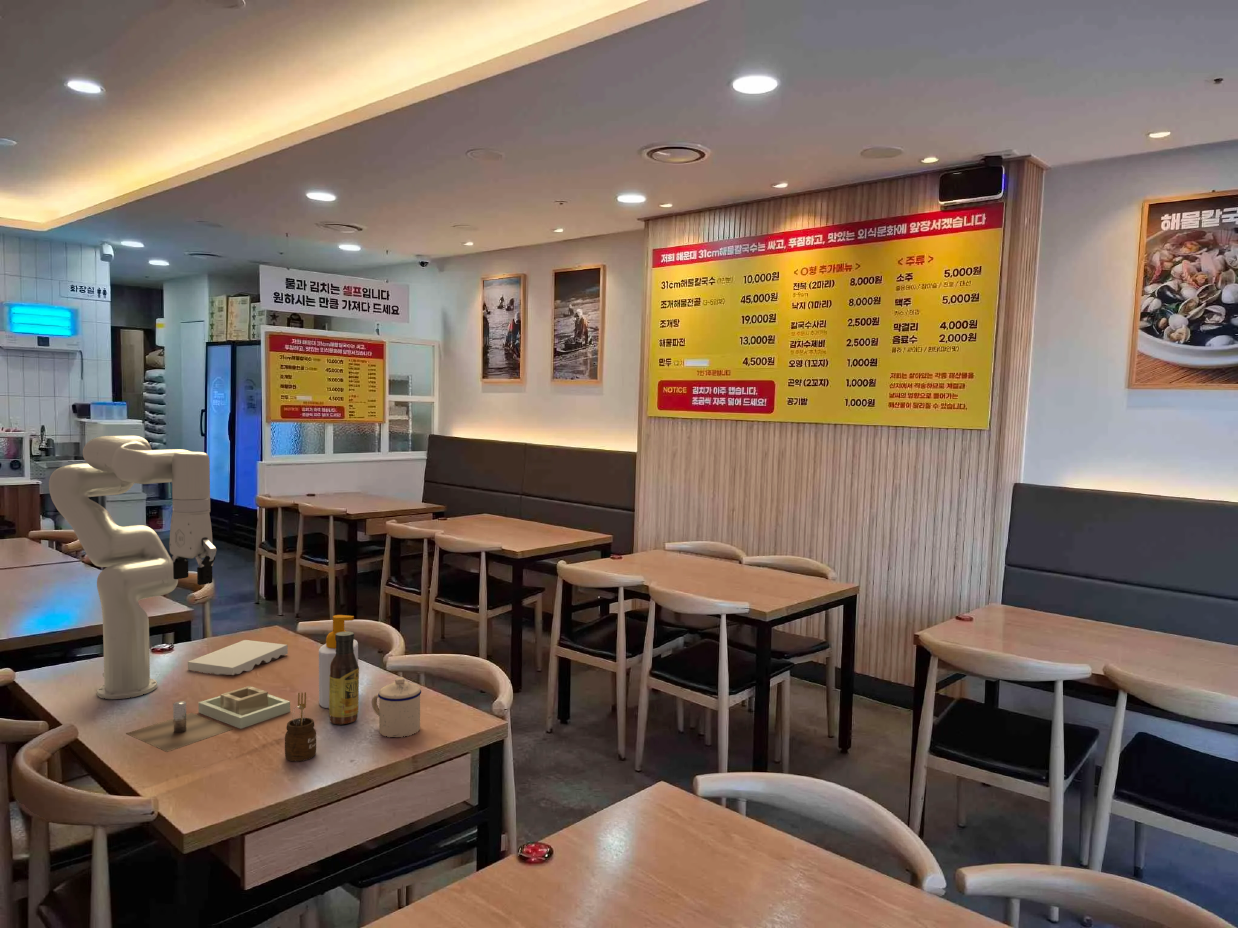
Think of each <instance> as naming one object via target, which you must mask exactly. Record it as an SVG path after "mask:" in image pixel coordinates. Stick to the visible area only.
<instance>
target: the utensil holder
mask: <svg viewBox="0 0 1238 928" xmlns="http://www.w3.org/2000/svg"><path fill="white" fill-rule="evenodd" d="M297 693H298V694H297V706H296V705H295V707H294V709H298V710H299V711H300V717H296V718H295V719H294V716H291V717H292V719H291V720H289V721H288V722H287V723H286V733H285V734H284V756H285V758H286V760H288V761H289V760H290V761H291V762H295V761H297V762H304V761H308V760H310V759H312V758H313V757H315V755H316V754H317V732H316V729H315V721H314V719H312V718H310V717H304V716H305V714H306V712H305V708H306V707H307V692H304V693H303V692H301V693H300V692H297ZM303 700H304V701H303ZM291 711H292V712H291V713H294V710H291ZM303 760H304V761H303Z"/></svg>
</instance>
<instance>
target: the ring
mask: <svg viewBox="0 0 1238 928" xmlns="http://www.w3.org/2000/svg"><path fill="white" fill-rule="evenodd" d="M268 694H269V692H268V691H266V690H263V689H260V688H257V687H254V686H251V685H247V686H245V687H240V688H238V689H233V690H231V691H227V692H224V693H221V694H220V695H219V696H220V702H221V707H220V708H223V709H226V710H228V711H231V712H234V713H236V714H239V715H245V714H249V713H252V712H255V711H258V710H261V709H264V708H267V707H268Z"/></svg>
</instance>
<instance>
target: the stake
mask: <svg viewBox="0 0 1238 928" xmlns="http://www.w3.org/2000/svg"><path fill="white" fill-rule="evenodd" d="M172 710H173V711H172V715H173V717H172V719H173V723H174V733H183V732H185V731H187V724H186V714H187V702H186V701H183V700H182V701H181V700H180V701H176V702H174V703H172Z"/></svg>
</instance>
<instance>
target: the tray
mask: <svg viewBox="0 0 1238 928" xmlns="http://www.w3.org/2000/svg"><path fill="white" fill-rule="evenodd" d="M197 703H198V713H199V714H202V715H204V716H206V717H209V718H212V719H214V720H217V721H220V722H222V723H224V724H228V725H229V726H232V727H234V728H236V729H237V728H238V729H241V730H242V729H245V728H247V727H251V726H252V725H256V724H259V723H262V722H265V721H267V720H271V719H273V718H277V717H279V716H282V715H284V714H285V715H286V714H287V713H290V712H291V701H289V700H286V699H284V698H281V697H278V696H275V695H272V694H269V693H268V707H267V708H264V709H261V710H258V711H255V712H252V713H249V714H245V715H239V714H236V713H234V712H231V711H228V710H226V709H223V708H221V702H220V695H218V696H215V697H212V698H208V699H205V700H201V701H198V702H197Z"/></svg>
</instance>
